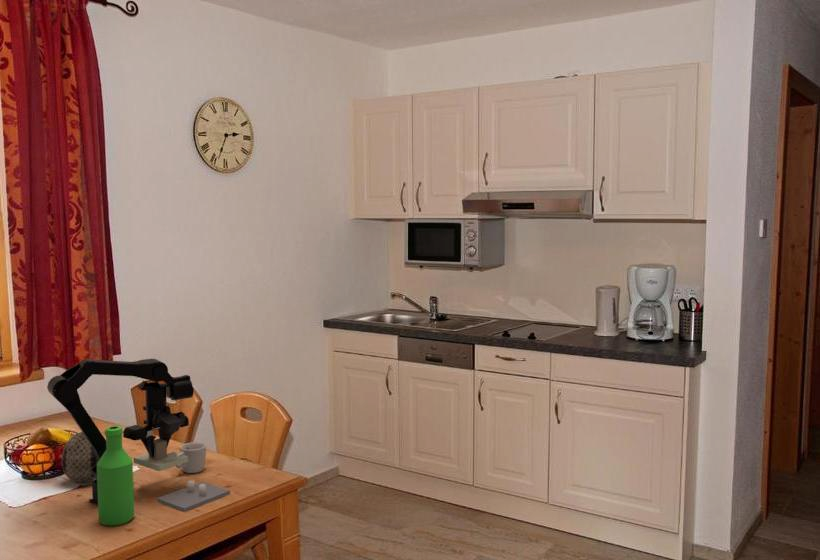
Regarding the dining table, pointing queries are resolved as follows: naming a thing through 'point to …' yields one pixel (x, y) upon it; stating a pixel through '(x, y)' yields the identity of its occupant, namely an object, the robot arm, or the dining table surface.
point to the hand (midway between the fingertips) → (157, 455)
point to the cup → (193, 457)
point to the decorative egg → (78, 458)
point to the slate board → (193, 496)
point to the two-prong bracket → (160, 457)
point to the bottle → (115, 481)
